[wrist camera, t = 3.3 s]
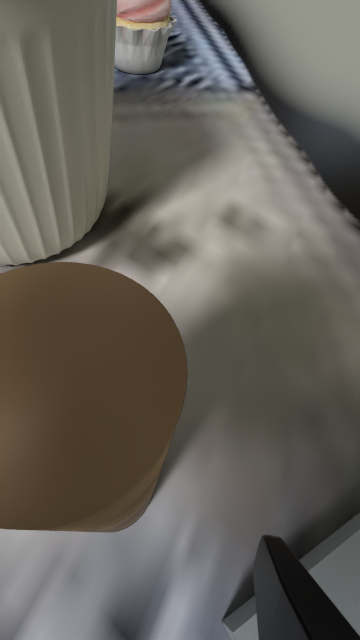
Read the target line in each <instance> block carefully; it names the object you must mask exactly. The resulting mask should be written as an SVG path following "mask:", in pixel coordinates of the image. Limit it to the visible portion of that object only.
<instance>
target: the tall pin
mask: <svg viewBox="0 0 360 640" xmlns="http://www.w3.org/2000/svg"><path fill="white" fill-rule="evenodd" d="M186 385H187V360H186V354H185V349H184V344H183V341H182V339H181V336H180V333H179V330H178V328H177V326H176V324H175V322H174V320H173V319H172V317H171V315H170V314H169V313H168V311H167V310H166V308H165V307H164V306H163V305H162V303H161V302H160V301H159V300H158V299H157V298H156V297H155V296H154V295H153V294H152V293H150V292H149V291H148V290H147V289H146V288H144V287H143V286H142V285H140V284H139V283H137V282H135V281H134V280H132V279H130V278H128V277H126V276H124V275H122V274H120V273H118V272H115V271H112V270H109V269H107V268H103V267H99V266H95V265H90V264H83V263H73V262H53V263H42V264H35V265H29V266H25V267H21V268H17V269H13V270H10V271H7V272H4V273H1V274H0V528H1V529H16V530H48V531H81V532H116V531H120V530H123V529H125V528H127V527H129V526H131V525H132V524H134V523H135V522H136V521H137V520H138V519H139V518H140V517H141V516H142V515H143V514H144V512H145V511H146V509H147V507H148V505H149V503H150V500H151V498H152V495H153V492H154V489H155V486H156V483H157V480H158V477H159V474H160V472H161V469H162V466H163V463H164V460H165V457H166V454H167V451H168V448H169V445H170V443H171V440H172V437H173V434H174V431H175V428H176V425H177V422H178V419H179V417H180V414H181V411H182V407H183V403H184V398H185V394H186Z"/></svg>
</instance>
